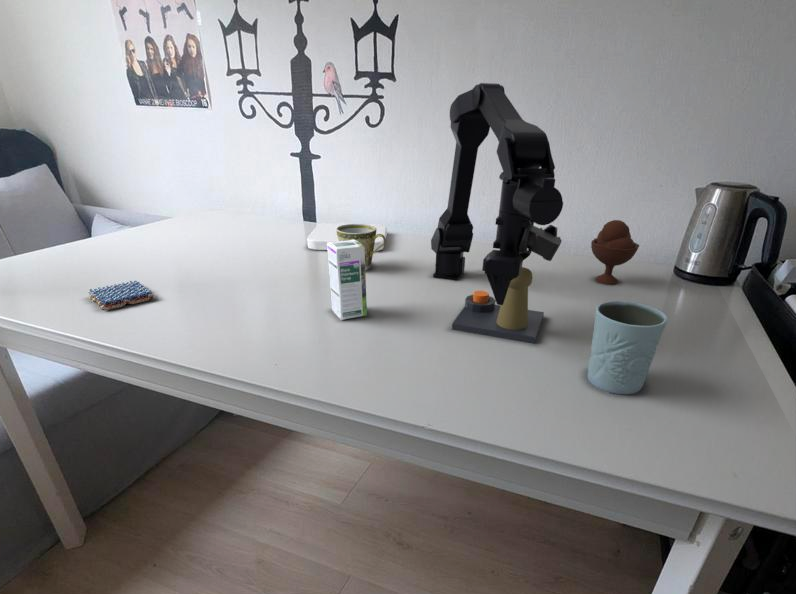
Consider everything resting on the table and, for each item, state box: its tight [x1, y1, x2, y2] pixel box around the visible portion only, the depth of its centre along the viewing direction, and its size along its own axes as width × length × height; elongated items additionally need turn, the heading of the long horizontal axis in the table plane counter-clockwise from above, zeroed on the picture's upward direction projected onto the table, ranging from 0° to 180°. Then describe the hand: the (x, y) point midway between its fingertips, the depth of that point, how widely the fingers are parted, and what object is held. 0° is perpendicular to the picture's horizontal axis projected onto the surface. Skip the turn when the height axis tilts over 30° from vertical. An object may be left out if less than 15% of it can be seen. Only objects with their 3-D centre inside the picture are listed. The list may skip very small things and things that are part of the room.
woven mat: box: [88, 280, 156, 311], centre depth 103 cm, size 10×11×2 cm
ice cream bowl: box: [590, 219, 640, 286], centre depth 118 cm, size 11×11×15 cm
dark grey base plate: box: [451, 294, 545, 345], centre depth 97 cm, size 16×14×3 cm
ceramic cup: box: [336, 223, 387, 272], centre depth 123 cm, size 13×10×10 cm
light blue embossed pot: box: [587, 300, 668, 395], centre depth 76 cm, size 10×10×12 cm
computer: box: [306, 222, 388, 252], centre depth 147 cm, size 22×22×3 cm
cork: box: [497, 266, 533, 330], centre depth 92 cm, size 6×6×11 cm
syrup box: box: [326, 239, 368, 321], centre depth 97 cm, size 6×6×14 cm
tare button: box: [472, 290, 490, 303], centre depth 101 cm, size 3×3×2 cm
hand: (504, 296), depth 92 cm, fingers open, 9 cm apart
